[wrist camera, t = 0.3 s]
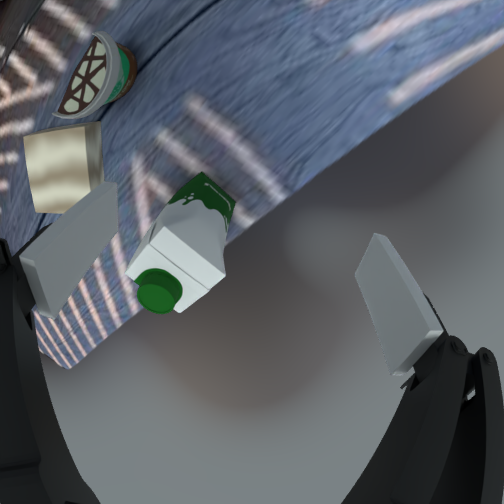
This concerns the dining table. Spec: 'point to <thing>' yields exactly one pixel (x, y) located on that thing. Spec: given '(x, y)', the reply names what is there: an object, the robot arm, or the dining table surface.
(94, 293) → the dining table surface
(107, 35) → the food container
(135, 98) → the dining table surface
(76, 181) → the birch riser block
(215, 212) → the milk carton
